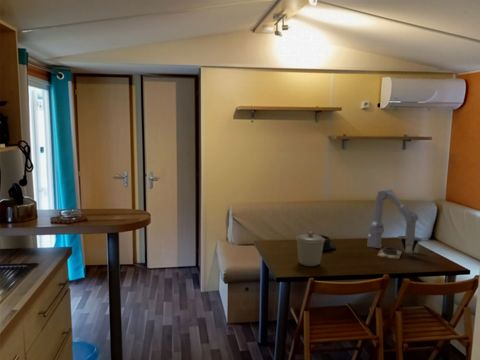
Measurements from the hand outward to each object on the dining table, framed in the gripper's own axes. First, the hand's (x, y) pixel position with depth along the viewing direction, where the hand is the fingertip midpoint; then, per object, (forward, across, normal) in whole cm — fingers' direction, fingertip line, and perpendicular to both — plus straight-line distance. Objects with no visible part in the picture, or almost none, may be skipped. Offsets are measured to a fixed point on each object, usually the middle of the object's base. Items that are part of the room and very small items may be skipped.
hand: (408, 250), depth 283 cm
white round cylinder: (+2, 0, 0) cm, 2 cm away
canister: (+5, -54, -52) cm, 75 cm away
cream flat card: (+4, -12, -2) cm, 13 cm away
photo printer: (+4, 0, +13) cm, 14 cm away
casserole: (+5, -59, -15) cm, 61 cm away
